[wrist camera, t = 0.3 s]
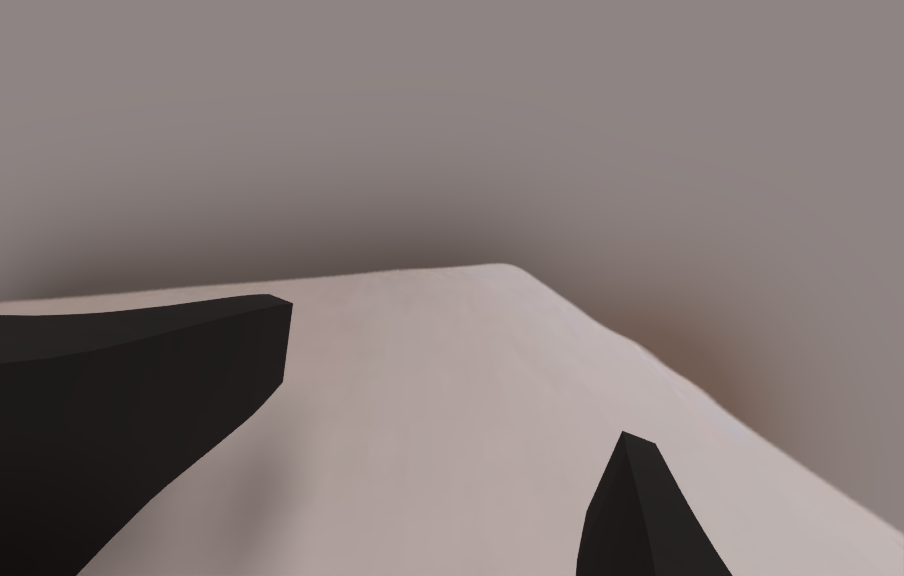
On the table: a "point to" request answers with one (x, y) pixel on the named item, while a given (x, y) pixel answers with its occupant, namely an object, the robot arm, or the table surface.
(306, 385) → the table surface
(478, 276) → the table surface
